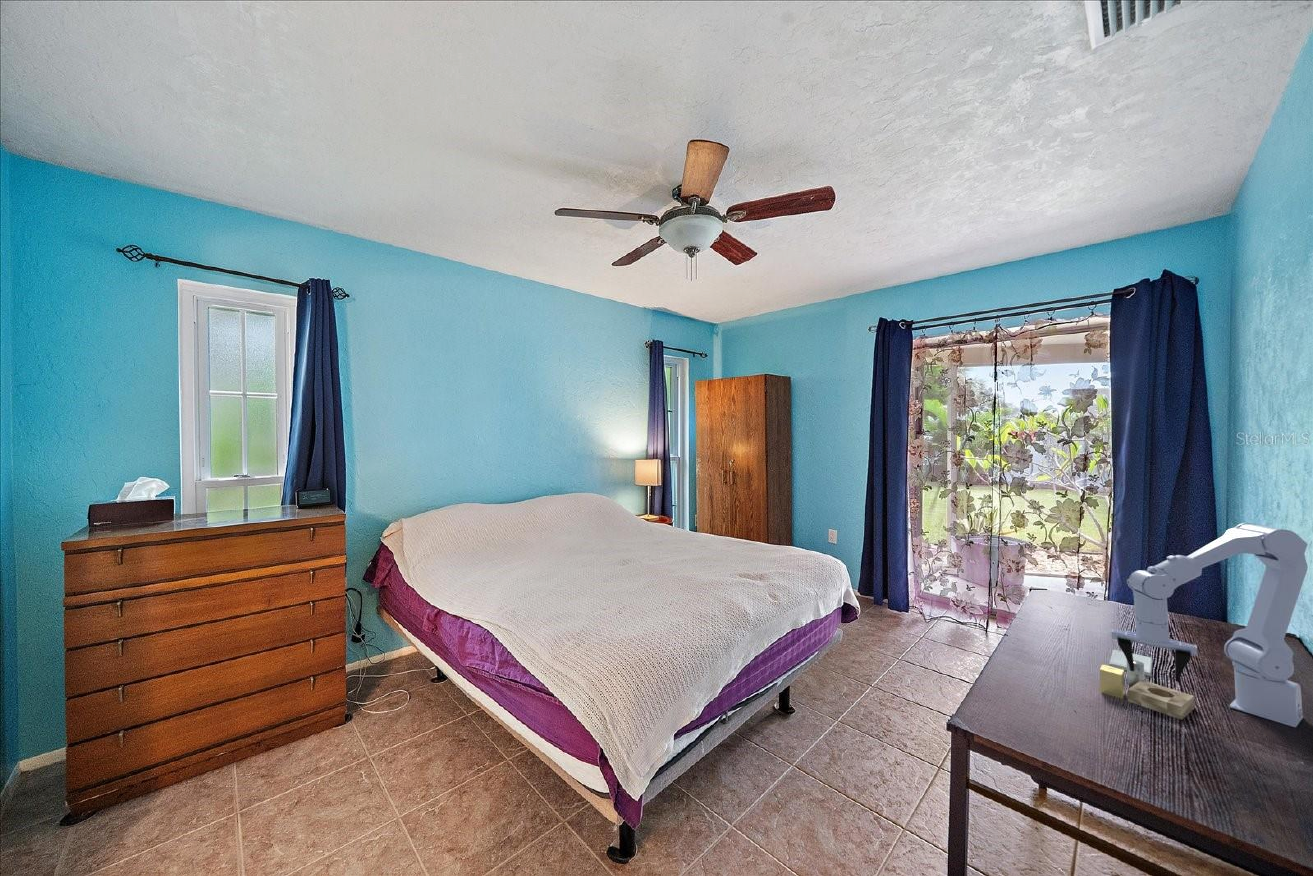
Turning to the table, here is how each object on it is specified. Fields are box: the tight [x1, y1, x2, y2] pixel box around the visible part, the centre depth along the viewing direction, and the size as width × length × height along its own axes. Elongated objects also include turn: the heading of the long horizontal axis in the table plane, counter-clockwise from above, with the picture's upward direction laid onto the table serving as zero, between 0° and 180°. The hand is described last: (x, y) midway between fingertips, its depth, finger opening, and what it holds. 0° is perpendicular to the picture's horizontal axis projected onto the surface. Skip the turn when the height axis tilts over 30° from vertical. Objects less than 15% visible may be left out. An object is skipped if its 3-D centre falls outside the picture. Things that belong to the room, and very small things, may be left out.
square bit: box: [1099, 664, 1126, 700], centre depth 119 cm, size 4×4×6 cm
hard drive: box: [1108, 649, 1153, 677], centre depth 133 cm, size 2×8×12 cm
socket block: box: [1127, 680, 1195, 721], centre depth 113 cm, size 9×9×3 cm
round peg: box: [1126, 660, 1146, 687], centre depth 122 cm, size 3×3×6 cm
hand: (1154, 675), depth 115 cm, fingers open, 7 cm apart
